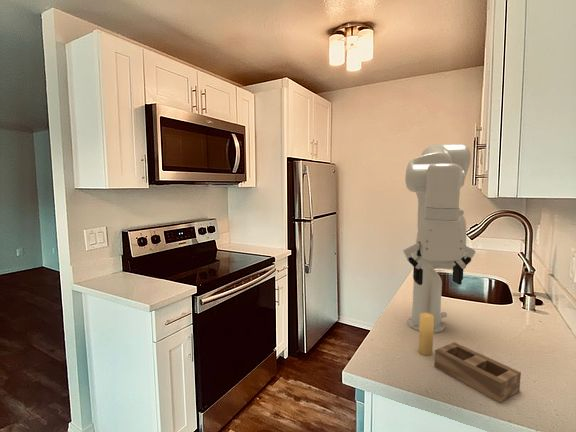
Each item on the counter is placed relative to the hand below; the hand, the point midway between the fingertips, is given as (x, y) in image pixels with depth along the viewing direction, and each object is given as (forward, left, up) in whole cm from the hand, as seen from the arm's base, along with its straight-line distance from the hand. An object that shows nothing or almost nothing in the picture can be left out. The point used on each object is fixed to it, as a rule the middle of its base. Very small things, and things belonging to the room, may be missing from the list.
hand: (437, 283), depth 82 cm
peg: (-14, -13, -28) cm, 34 cm away
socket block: (-14, +3, -28) cm, 31 cm away
